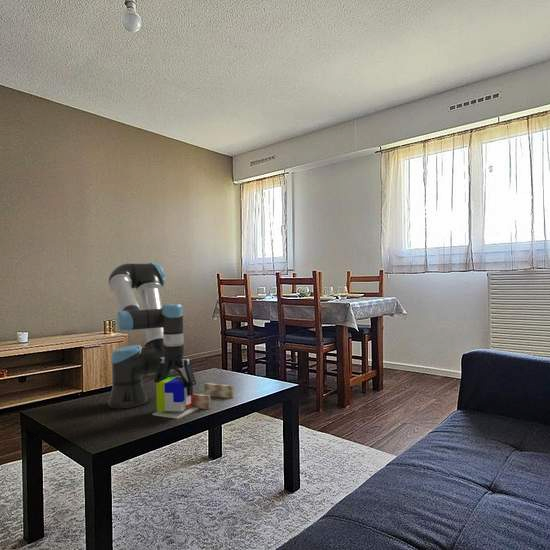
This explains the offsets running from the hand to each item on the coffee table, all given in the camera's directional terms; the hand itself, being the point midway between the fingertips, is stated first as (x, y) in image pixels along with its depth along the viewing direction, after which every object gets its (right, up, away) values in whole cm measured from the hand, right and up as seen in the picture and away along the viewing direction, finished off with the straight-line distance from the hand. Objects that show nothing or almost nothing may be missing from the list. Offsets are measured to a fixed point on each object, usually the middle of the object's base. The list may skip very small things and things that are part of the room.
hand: (175, 402), depth 158 cm
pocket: (+10, -3, +13) cm, 17 cm away
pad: (0, -4, 0) cm, 4 cm away
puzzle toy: (0, -2, 0) cm, 2 cm away
